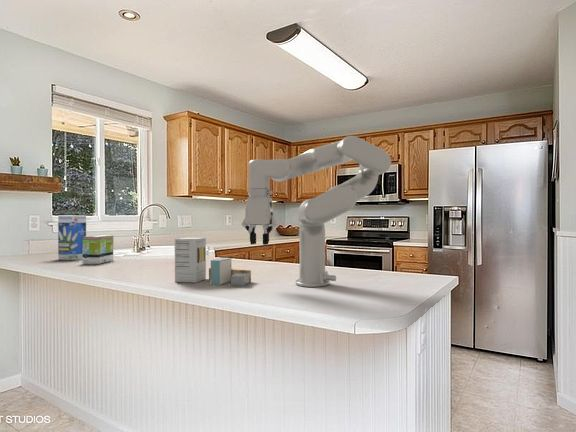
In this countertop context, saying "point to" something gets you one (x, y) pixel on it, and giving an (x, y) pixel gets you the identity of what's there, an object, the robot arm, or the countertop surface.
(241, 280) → the grey rounded block
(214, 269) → the book
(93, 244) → the tea box
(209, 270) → the rail
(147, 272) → the countertop surface
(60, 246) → the string lights box
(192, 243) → the supplement box
